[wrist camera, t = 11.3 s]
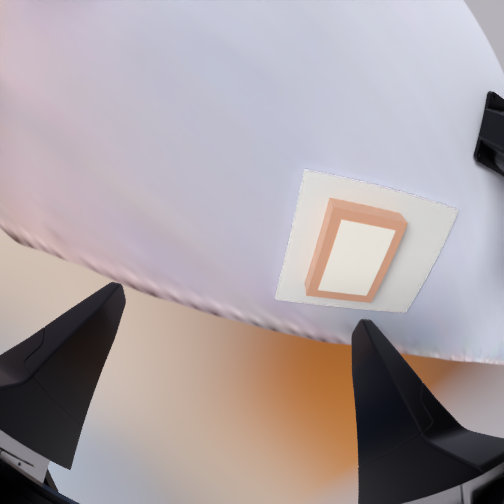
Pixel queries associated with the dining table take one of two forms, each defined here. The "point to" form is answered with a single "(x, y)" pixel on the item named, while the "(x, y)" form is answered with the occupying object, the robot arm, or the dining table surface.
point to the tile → (353, 251)
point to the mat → (406, 256)
